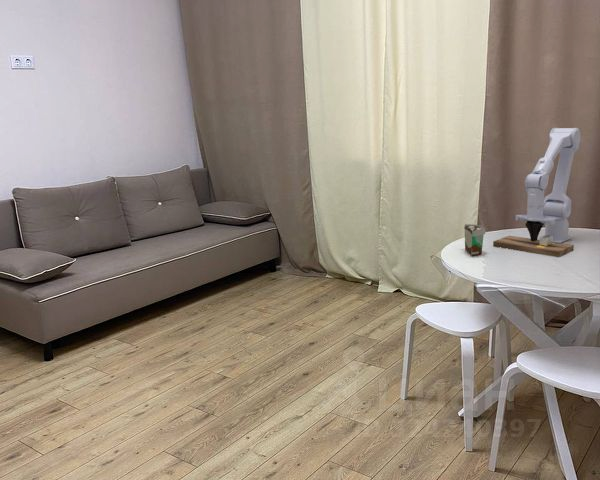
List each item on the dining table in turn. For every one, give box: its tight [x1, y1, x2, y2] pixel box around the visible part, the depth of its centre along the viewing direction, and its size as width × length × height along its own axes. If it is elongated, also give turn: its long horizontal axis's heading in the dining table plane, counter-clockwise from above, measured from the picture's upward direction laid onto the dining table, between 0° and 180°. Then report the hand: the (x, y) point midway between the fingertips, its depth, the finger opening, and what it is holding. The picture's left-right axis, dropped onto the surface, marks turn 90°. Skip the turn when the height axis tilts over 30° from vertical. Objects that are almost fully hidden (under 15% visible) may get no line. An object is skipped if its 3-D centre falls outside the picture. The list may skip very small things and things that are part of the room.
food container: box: [463, 223, 486, 257], centre depth 224 cm, size 12×6×10 cm, turn 179°
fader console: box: [492, 235, 575, 258], centre depth 227 cm, size 12×26×2 cm, turn 42°
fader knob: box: [539, 234, 553, 246], centre depth 223 cm, size 4×3×3 cm
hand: (534, 240), depth 226 cm, fingers closed
